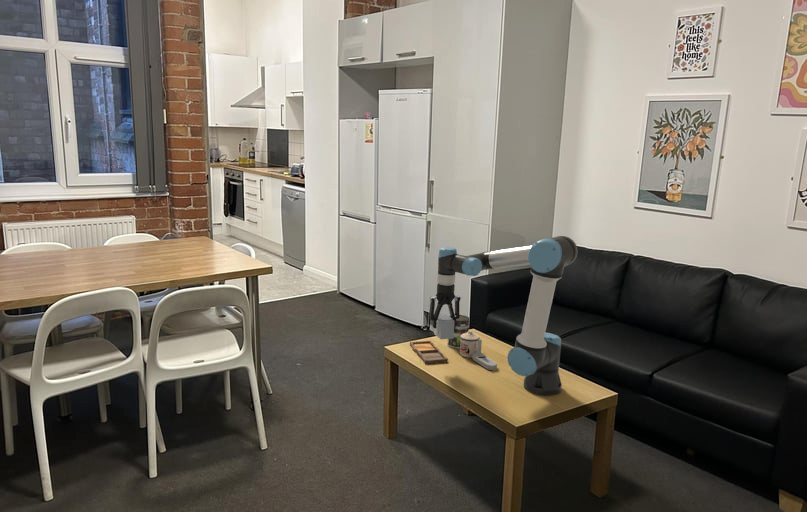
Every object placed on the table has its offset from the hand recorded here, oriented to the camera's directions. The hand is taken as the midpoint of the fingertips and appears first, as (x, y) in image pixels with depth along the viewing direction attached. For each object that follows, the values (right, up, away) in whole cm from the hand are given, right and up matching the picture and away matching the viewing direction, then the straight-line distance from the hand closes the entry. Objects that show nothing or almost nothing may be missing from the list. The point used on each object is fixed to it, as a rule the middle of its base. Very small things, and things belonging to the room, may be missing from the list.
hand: (443, 334), depth 247 cm
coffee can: (+9, -10, +31) cm, 34 cm away
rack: (-6, -12, +19) cm, 23 cm away
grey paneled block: (0, 0, 0) cm, 0 cm away
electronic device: (+19, -15, +8) cm, 25 cm away
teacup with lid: (+14, -13, +18) cm, 26 cm away
